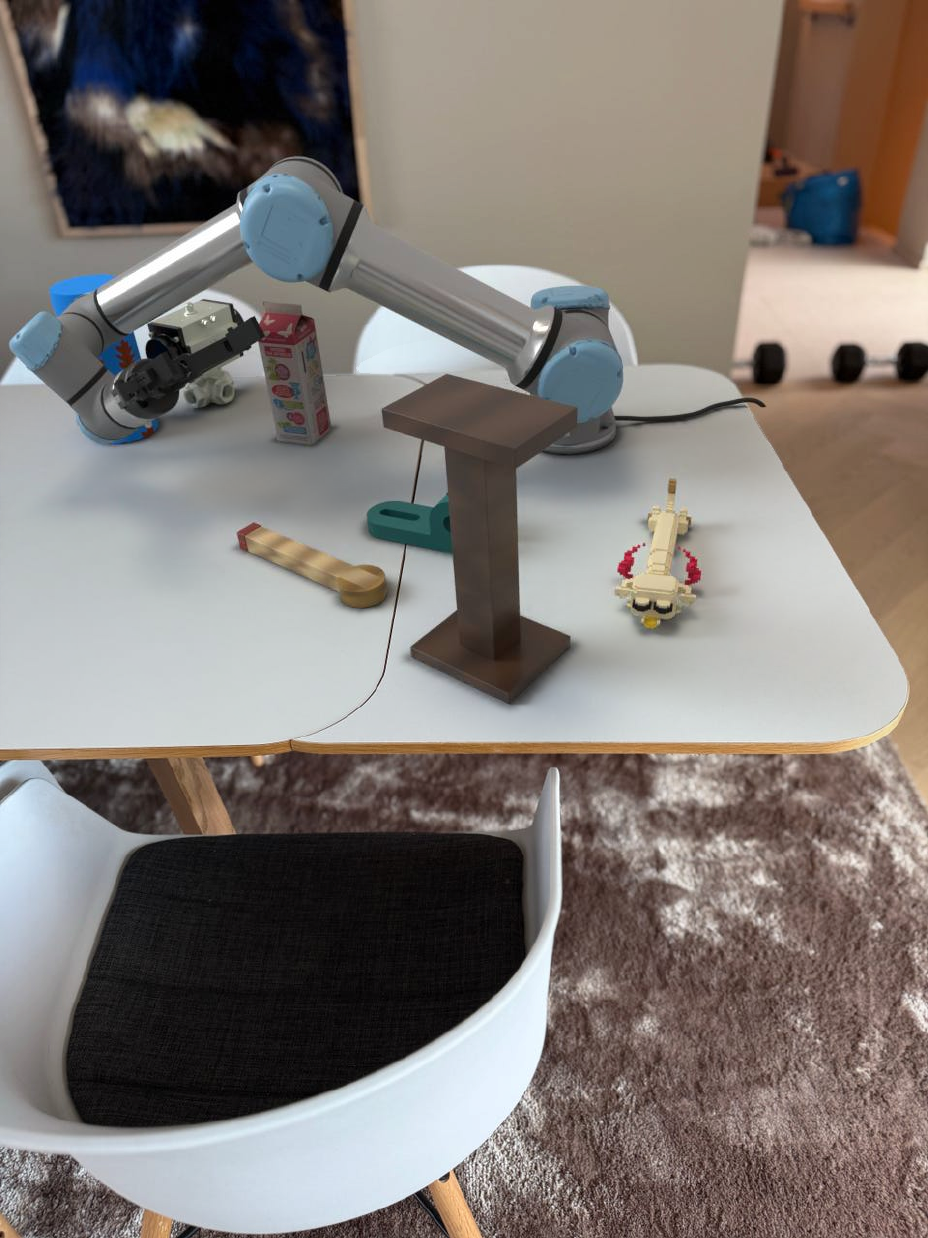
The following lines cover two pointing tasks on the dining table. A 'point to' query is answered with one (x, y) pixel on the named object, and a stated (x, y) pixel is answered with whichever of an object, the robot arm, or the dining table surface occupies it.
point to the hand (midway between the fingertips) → (215, 344)
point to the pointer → (317, 566)
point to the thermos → (114, 355)
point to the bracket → (412, 524)
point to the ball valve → (197, 346)
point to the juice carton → (293, 374)
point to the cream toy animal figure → (659, 568)
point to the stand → (485, 526)
